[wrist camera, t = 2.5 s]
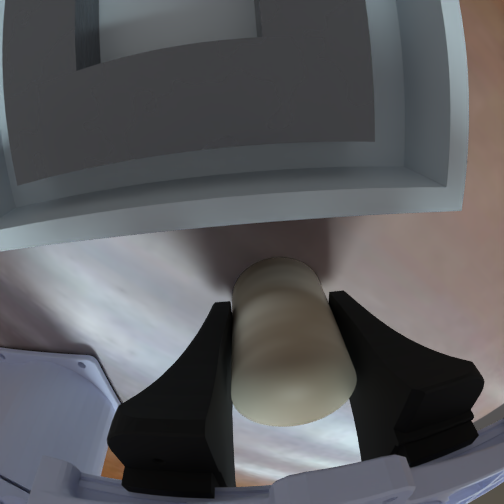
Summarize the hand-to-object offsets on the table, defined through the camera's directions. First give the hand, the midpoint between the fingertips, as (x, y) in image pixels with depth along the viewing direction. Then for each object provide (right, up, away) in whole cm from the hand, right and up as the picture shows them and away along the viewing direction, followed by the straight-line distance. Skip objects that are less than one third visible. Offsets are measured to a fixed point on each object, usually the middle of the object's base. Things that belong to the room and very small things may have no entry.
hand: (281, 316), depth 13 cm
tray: (-4, +12, -5) cm, 13 cm away
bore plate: (-4, +12, -5) cm, 13 cm away
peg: (0, +1, +1) cm, 1 cm away
